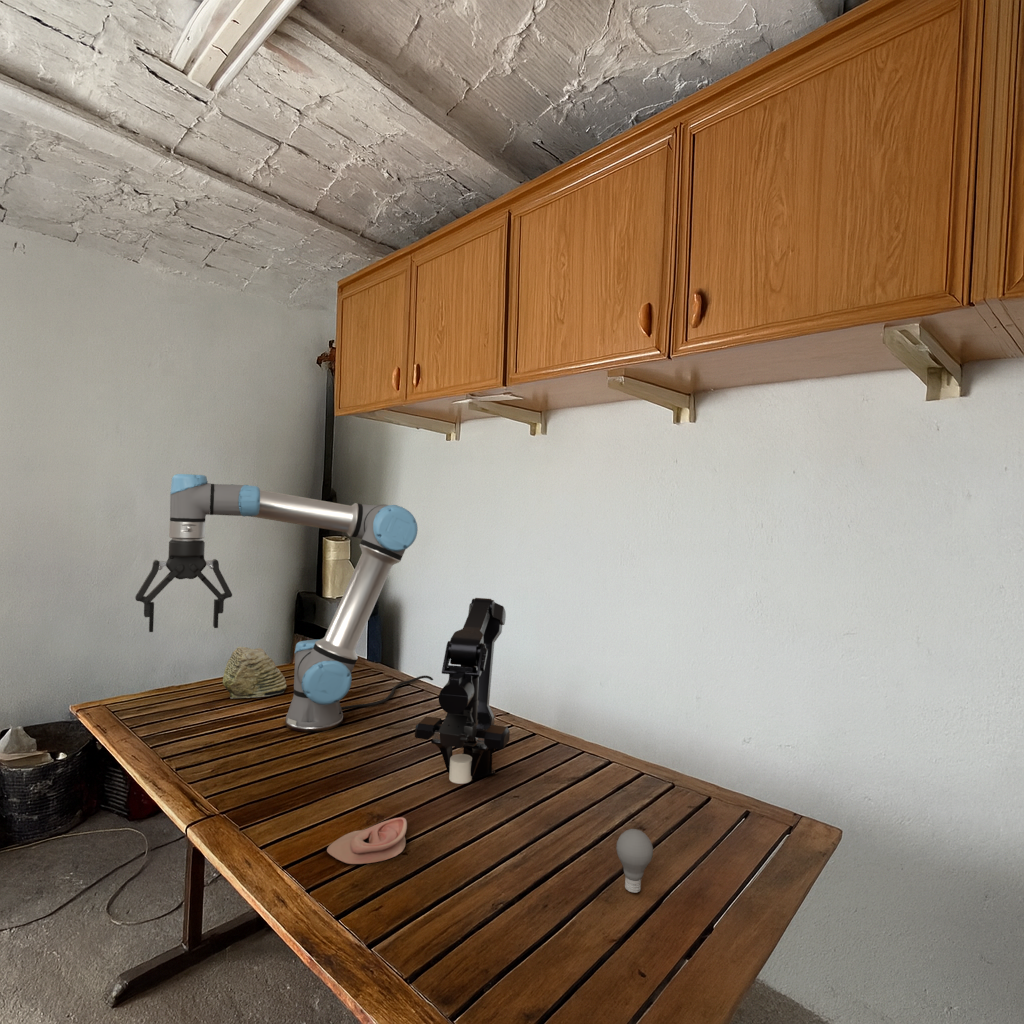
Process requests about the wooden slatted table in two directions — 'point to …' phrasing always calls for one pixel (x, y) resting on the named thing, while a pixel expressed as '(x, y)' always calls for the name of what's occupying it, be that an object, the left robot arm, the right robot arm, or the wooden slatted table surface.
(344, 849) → the anatomical model
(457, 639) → the right robot arm
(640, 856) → the light bulb
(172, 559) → the left robot arm
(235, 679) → the fossil
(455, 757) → the can
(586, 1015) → the wooden slatted table surface
